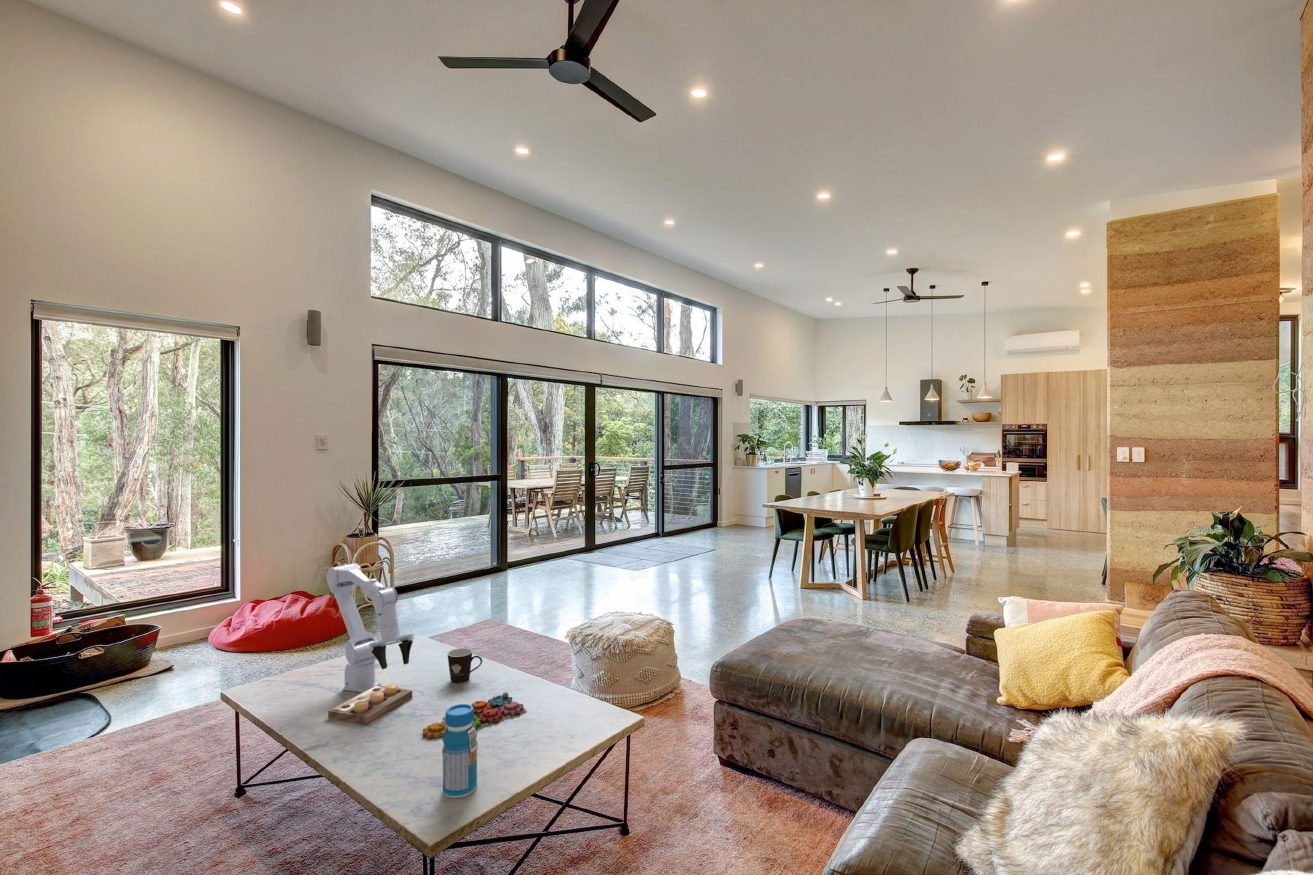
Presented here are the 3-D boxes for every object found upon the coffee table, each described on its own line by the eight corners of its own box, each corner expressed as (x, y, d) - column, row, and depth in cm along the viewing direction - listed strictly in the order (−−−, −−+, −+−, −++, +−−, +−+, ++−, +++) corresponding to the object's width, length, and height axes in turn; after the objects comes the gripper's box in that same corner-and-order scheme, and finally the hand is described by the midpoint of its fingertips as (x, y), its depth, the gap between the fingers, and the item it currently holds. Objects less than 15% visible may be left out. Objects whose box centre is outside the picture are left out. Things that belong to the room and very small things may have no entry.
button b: (367, 703, 192) (367, 696, 192) (376, 698, 196) (376, 691, 196) (377, 704, 191) (377, 698, 191) (386, 699, 194) (386, 692, 194)
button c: (381, 694, 198) (381, 688, 198) (390, 689, 202) (390, 683, 202) (391, 696, 197) (391, 689, 197) (400, 691, 201) (400, 684, 201)
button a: (351, 712, 185) (351, 705, 185) (361, 706, 189) (361, 699, 189) (361, 714, 184) (361, 706, 184) (371, 708, 188) (371, 701, 188)
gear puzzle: (432, 748, 169) (432, 734, 169) (410, 728, 181) (410, 715, 181) (528, 713, 191) (528, 700, 191) (503, 697, 202) (503, 685, 202)
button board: (328, 718, 186) (328, 709, 186) (375, 692, 205) (375, 683, 205) (367, 725, 182) (367, 716, 182) (412, 697, 201) (412, 689, 201)
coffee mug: (442, 681, 214) (442, 654, 214) (460, 673, 221) (460, 646, 221) (466, 688, 208) (466, 659, 208) (483, 679, 216) (483, 651, 216)
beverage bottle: (448, 803, 143) (447, 720, 143) (437, 786, 150) (437, 707, 150) (482, 791, 148) (482, 710, 148) (471, 775, 155) (470, 698, 155)
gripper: (361, 632, 198) (368, 673, 196) (403, 622, 197) (410, 664, 195) (373, 627, 205) (379, 668, 203) (413, 618, 204) (420, 659, 202)
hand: (395, 666), depth 199 cm, fingers open, 7 cm apart
